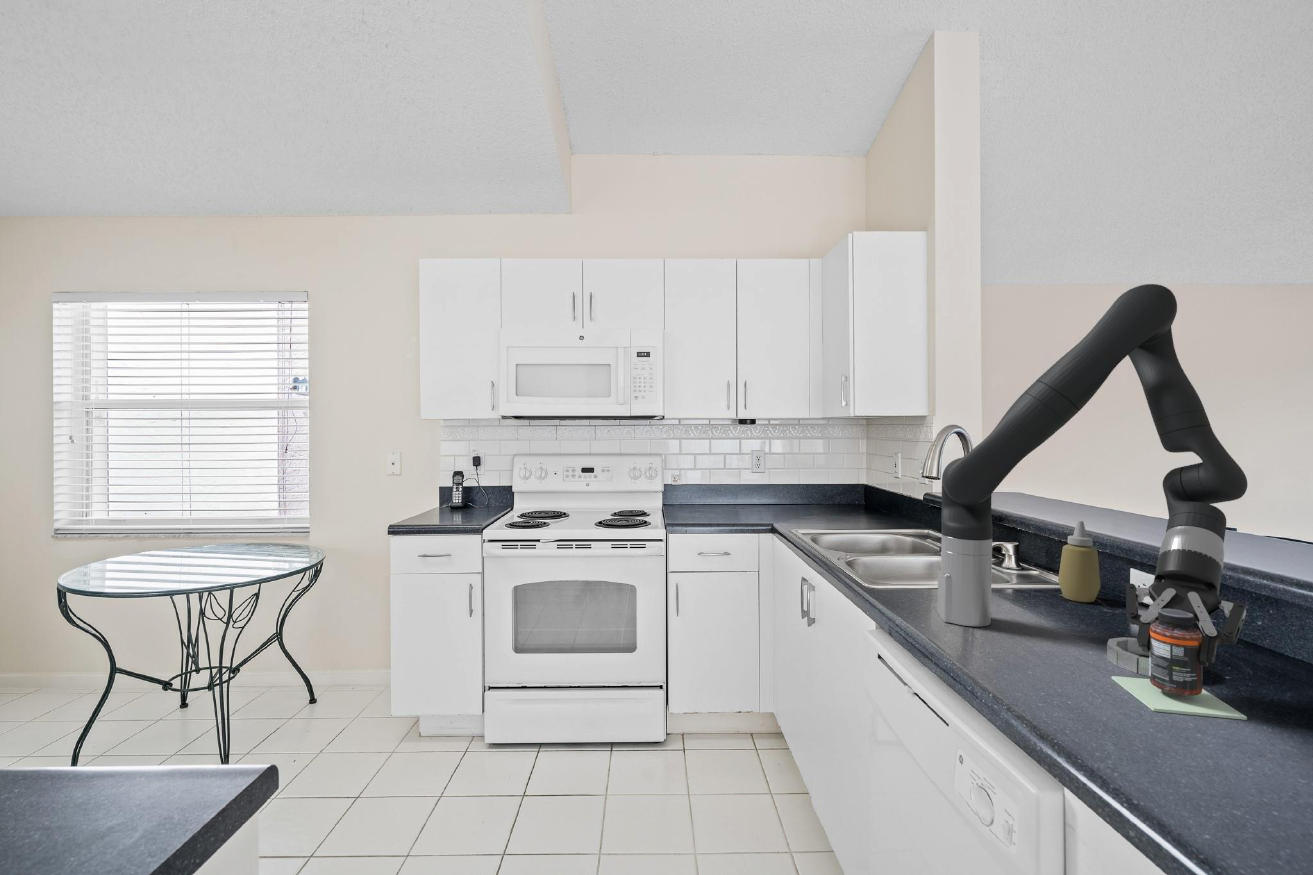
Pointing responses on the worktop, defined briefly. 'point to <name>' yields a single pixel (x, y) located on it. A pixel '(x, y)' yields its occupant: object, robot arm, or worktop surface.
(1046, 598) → the worktop surface
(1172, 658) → the supplement bottle
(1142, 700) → the mat
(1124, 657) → the holder ring
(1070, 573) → the squeeze bottle
